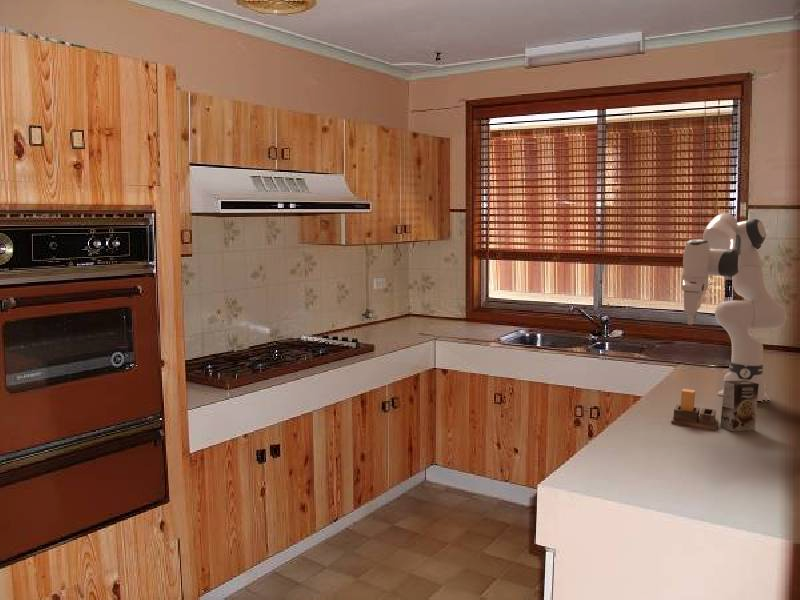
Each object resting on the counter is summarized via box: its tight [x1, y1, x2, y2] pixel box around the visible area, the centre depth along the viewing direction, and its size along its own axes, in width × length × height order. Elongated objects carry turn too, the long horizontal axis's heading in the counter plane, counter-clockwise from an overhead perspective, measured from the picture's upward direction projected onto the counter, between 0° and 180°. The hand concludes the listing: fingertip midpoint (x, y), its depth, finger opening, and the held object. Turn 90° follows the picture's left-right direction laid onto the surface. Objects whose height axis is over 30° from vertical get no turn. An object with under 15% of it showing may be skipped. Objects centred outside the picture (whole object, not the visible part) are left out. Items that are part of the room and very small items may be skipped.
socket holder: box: [670, 404, 719, 431], centre depth 247 cm, size 12×14×4 cm
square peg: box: [680, 388, 696, 412], centre depth 248 cm, size 4×4×10 cm
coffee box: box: [720, 380, 759, 432], centre depth 241 cm, size 9×6×16 cm
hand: (691, 322), depth 257 cm, fingers open, 8 cm apart
